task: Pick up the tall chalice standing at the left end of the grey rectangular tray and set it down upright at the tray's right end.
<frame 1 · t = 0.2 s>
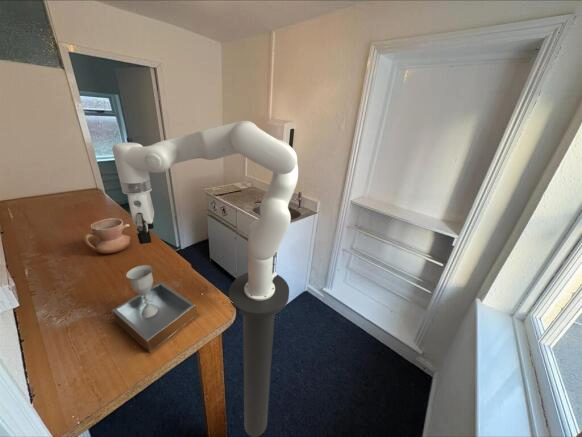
hand: (147, 235, 77), 28 cm above the table, tool pointing down, fingers open, 9 cm apart
chalice: (149, 312, 83), resting on grey rectangular tray
ceramic jug: (113, 249, 115), on the table
grey rectangular tray: (157, 318, 81), on the table
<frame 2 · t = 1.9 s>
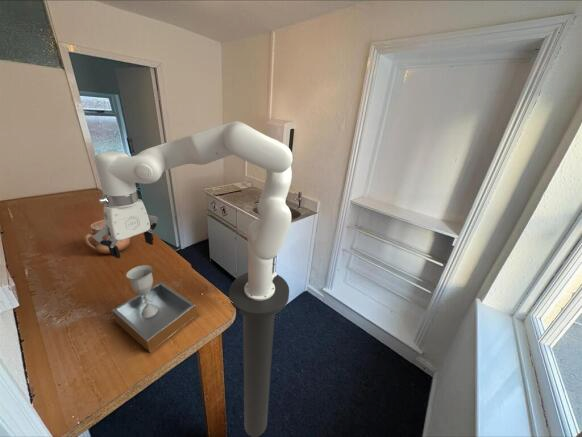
hand: (133, 249, 72), 27 cm above the table, tool pointing down, fingers open, 9 cm apart
nothing on the table moved.
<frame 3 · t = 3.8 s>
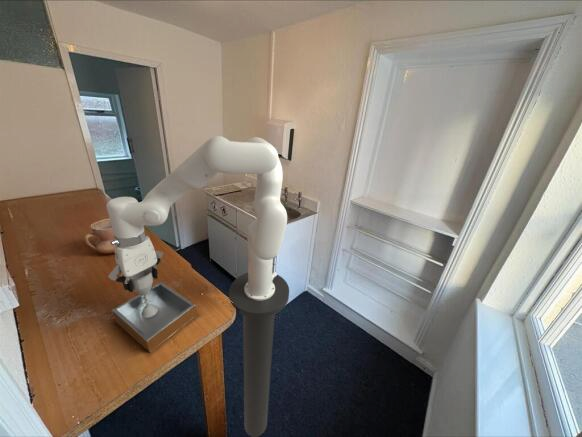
hand: (142, 283, 77), 14 cm above the table, tool pointing down, fingers closed on chalice, 7 cm apart
chalice: (149, 312, 83), resting on grey rectangular tray, touching gripper
everything else where it was.
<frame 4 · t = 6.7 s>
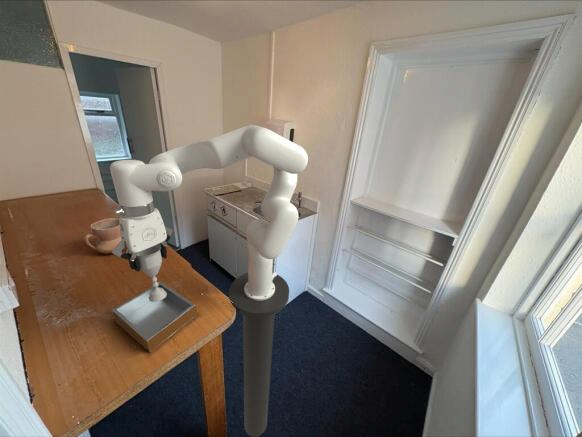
hand: (150, 262, 69), 26 cm above the table, tool pointing down, fingers closed on chalice, 7 cm apart
chalice: (158, 296, 75), point 12 cm above the table, touching gripper
everything else where it was.
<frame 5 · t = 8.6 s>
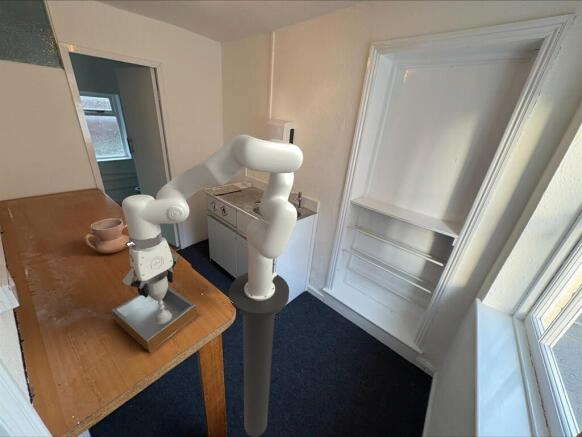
hand: (157, 287, 72), 17 cm above the table, tool pointing down, fingers closed on chalice, 7 cm apart
chalice: (163, 318, 78), point 3 cm above the table, touching gripper
everything else where it was.
when the fingers open (14 cm above the table, at t = 10.0 s): chalice stays where it is, resting on grey rectangular tray.
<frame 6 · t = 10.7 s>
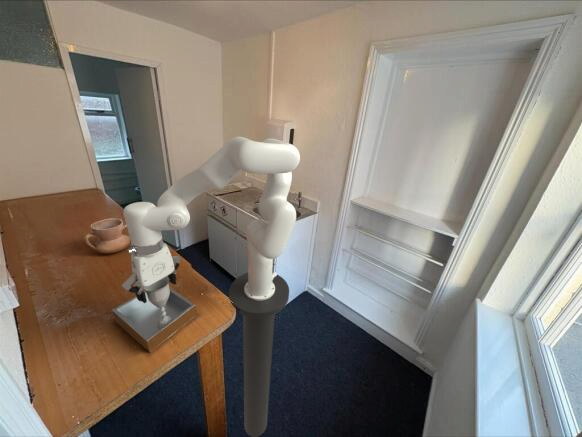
hand: (158, 291, 73), 15 cm above the table, tool pointing down, fingers open, 9 cm apart
chalice: (165, 324, 79), resting on grey rectangular tray
everything else where it was.
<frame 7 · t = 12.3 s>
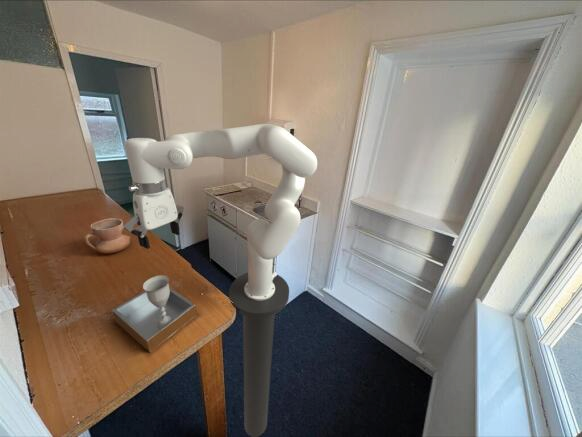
hand: (161, 240, 70), 31 cm above the table, tool pointing down, fingers open, 9 cm apart
nothing on the table moved.
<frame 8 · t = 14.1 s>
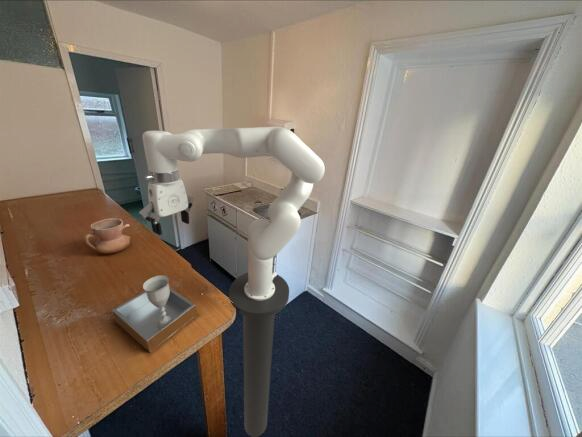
hand: (172, 227, 75), 32 cm above the table, tool pointing down, fingers open, 9 cm apart
nothing on the table moved.
at the end: chalice 0.2 cm from the target spot in the grey rectangular tray, point 0.1 cm above the grey rectangular tray's base; chalice tilted 0°; chalice moved 9.0 cm from its start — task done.
